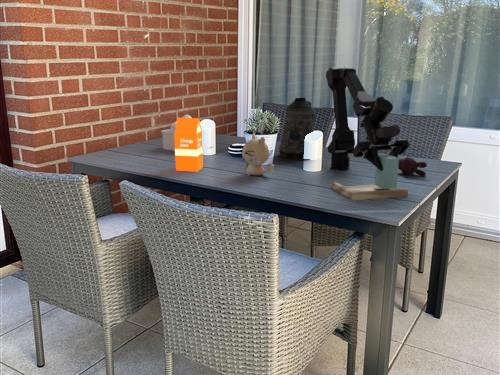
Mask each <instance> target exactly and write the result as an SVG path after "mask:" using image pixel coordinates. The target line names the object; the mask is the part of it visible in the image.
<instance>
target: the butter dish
mask: <svg viewBox="0 0 500 375" xmlns="http://www.w3.org/2000/svg"><path fill="white" fill-rule="evenodd" d="M181 118H193V117H192V116H191V115H189V114H184V115H183V116H182V117H181ZM176 123H177V120H176V121H174V122H173V123H172V124H171V128H169V129H164V130H160V133H161V138H162V140H161V142H162V144H161V145H162V150H165V149H166V150H167V151H173V152H175V135H174V133H175V129H176ZM200 123H201V121H200Z"/></svg>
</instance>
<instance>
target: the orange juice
mask: <svg viewBox="0 0 500 375" xmlns="http://www.w3.org/2000/svg"><path fill="white" fill-rule="evenodd" d="M176 121H177V123H176V129H175V133H174V135H175V151H174V156H175V157H174V159H175V171H177V172H178V171H180V172H182V171H184V172H196V173H197V172H199V171H200V170H201V169H203V168H204V156H203V155H204V150H203V146H202V129H201V125H200V122H201V121H200V118H199V117H192V118H182V117H177V120H176Z"/></svg>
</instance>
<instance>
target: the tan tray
mask: <svg viewBox="0 0 500 375" xmlns="http://www.w3.org/2000/svg"><path fill="white" fill-rule="evenodd" d="M331 188H332V189H333V190H335V191H336V192H338V193H339V194H341V195H343V196H345V197H346V198H348V199H350V200H351V201H362V200H363V201H365V200H372V199H373V200H375V199H385V198H387V199H388V198H397V197H408V195H409V194H408V193H409V189H408V188H405V187H404V188H403V187H402V188H390V189H382V188H380V187H378V186H376V185H375V183H374V184H360V185H351V186H350V185H349V186H344V185H342V184H341V183H339V182H337V181H331Z"/></svg>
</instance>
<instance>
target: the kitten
mask: <svg viewBox="0 0 500 375" xmlns="http://www.w3.org/2000/svg"><path fill="white" fill-rule="evenodd" d="M265 140H266V139H265V137H264V136H262V137H260V138H258V137H257V136H256V133H255V132H253V133H252V134H251V139H249V140H248V141H246V142H245V144H244V145H243V147H242V149H241V153H242V154H241V156H242V159H243V160H244V161H245V166H246V169H245V170H246V171H245V173H246V175H247V176H249V177H250V176H260V175H263V174H268V173H271V171H273V170H274V168H275V165H274V163H271V164H269V166H268V167H267V168H266V169H265V168H264V166H263V165H264V164H265V163H266V162H268V160H269V159H270V158H269V157H270V150H269V146H268V145H267V143H266V141H265Z"/></svg>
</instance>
